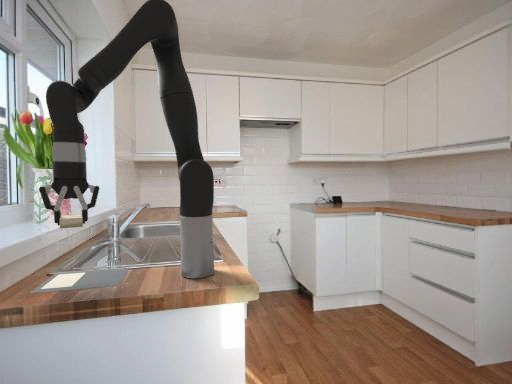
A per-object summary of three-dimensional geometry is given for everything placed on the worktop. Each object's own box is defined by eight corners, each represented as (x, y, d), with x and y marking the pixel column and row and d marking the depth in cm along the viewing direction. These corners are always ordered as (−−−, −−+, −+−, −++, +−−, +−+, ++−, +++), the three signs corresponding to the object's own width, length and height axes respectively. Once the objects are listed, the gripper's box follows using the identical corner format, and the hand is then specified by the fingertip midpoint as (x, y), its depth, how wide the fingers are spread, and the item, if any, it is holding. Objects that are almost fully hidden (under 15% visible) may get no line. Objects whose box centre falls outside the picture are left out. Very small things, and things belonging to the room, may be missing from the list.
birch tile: (82, 226, 77) (82, 217, 77) (59, 228, 74) (59, 219, 74) (82, 222, 84) (82, 214, 84) (61, 223, 81) (61, 215, 81)
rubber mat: (129, 269, 90) (129, 267, 90) (118, 287, 75) (118, 285, 75) (56, 274, 85) (56, 272, 85) (29, 295, 71) (28, 292, 70)
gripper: (34, 159, 71) (37, 228, 72) (101, 160, 78) (102, 224, 79) (38, 160, 78) (40, 224, 78) (99, 162, 85) (101, 220, 86)
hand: (71, 223), depth 79 cm, fingers closed on birch tile, 5 cm apart
